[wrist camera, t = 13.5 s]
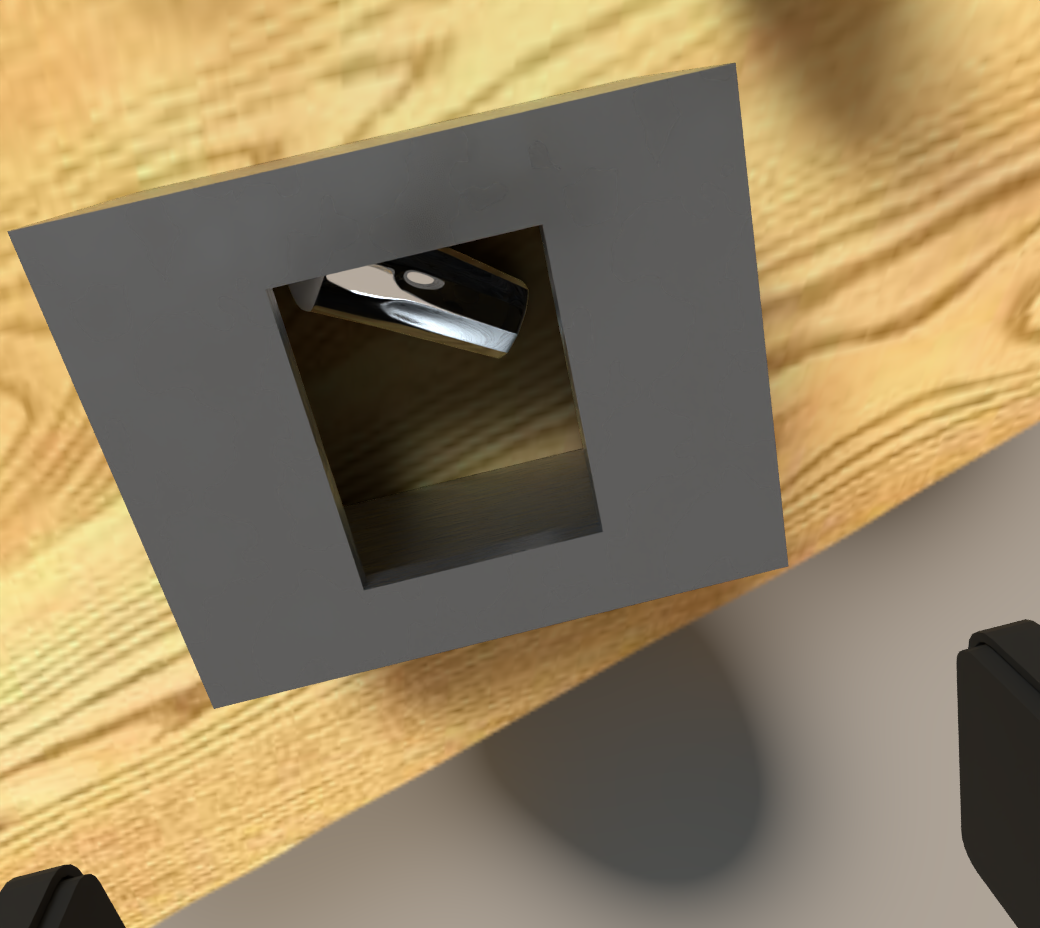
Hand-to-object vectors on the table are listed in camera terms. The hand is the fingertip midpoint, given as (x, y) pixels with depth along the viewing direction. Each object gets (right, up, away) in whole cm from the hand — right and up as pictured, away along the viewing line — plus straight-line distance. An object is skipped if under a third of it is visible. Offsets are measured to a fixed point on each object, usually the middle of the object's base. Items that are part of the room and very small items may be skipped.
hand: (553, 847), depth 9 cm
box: (-4, +10, +28) cm, 30 cm away
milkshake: (0, +10, +27) cm, 28 cm away
